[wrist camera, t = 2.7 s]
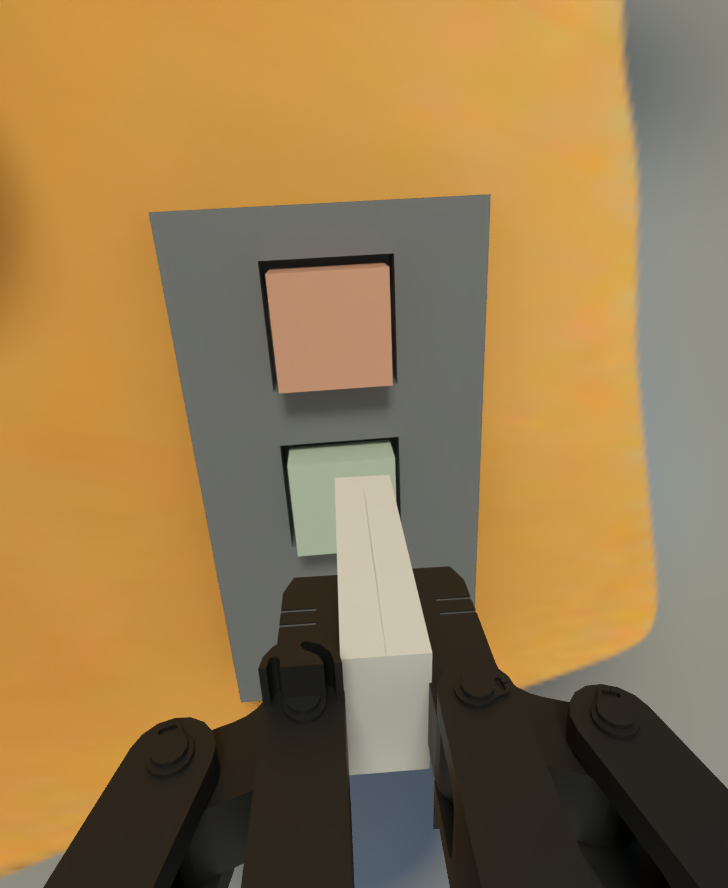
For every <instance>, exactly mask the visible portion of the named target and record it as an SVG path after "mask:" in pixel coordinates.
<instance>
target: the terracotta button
mask: <svg viewBox="0 0 728 888" xmlns="http://www.w3.org/2000/svg"><path fill="white" fill-rule="evenodd" d="M265 277H266V286H267V294H268V303H269V312H270V320H271V329H272V337H273V346H274V355H275V363H276V372H277V381H278V389H279V393H293V392H308V391H322V390H336V389H350V388H364V387H378V386H393V373H392V339H391V306H390V272H389V266H388V265H386V264H385V263H384V262H380V263H363V264H346V265H329V266H312V267H295V268H278V269H269V270H268V271H267V273H266V274H265Z"/></svg>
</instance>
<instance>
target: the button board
mask: <svg viewBox="0 0 728 888" xmlns="http://www.w3.org/2000/svg"><path fill="white" fill-rule="evenodd" d="M490 196H491V194H489V195H470V196H451V197H432V198H413V199H394V200H375V201H356V202H337V203H318V204H299V205H280V206H261V207H242V208H223V209H204V210H185V211H166V212H149V217H150V222H151V227H152V233H153V238H154V243H155V249H156V254H157V259H158V264H159V270H160V275H161V280H162V286H163V291H164V296H165V302H166V307H167V312H168V317H169V323H170V328H171V333H172V339H173V344H174V349H175V355H176V360H177V365H178V370H179V376H180V381H181V386H182V392H183V397H184V402H185V408H186V413H187V418H188V423H189V429H190V434H191V439H192V445H193V450H194V455H195V461H196V466H197V471H198V476H199V482H200V487H201V492H202V498H203V503H204V508H205V514H206V519H207V524H208V529H209V535H210V540H211V545H212V551H213V556H214V561H215V567H216V572H217V577H218V582H219V588H220V593H221V598H222V604H223V609H224V614H225V620H226V625H227V630H228V635H229V641H230V646H231V651H232V657H233V662H234V667H235V673H236V678H237V683H238V688H239V694H240V699H241V702H250V701H260V700H262V694H261V686H260V679H259V672H258V668H259V665H260V663H261V660H262V658H263V656H264V655H265V654H266V653H267V652H268V651H269V650H270V649H271V648H272V647H273V646H275V645H277V640H278V632H279V623H280V614H281V606H282V597H283V592H284V591H285V589H286V588H287V587H288V585H289V584H290V582H291V581H292V580H293V578H296V577H312V576H327V575H338V574H337V553H333V554H322V555H310V556H299V557H298V553H297V545H296V536H295V527H294V519H293V510H292V501H291V493H290V484H289V476H288V467H287V465H288V457H289V448H290V447H297V446H310V445H324V444H337V443H350V442H363V441H376V440H390V443H391V446H392V450H393V453H394V456H395V475H396V504H397V508H398V512H399V516H400V520H401V525H402V529H403V533H404V537H405V541H406V545H407V550H408V554H409V558H410V562H411V566H412V569H413V568H429V567H444V566H450V567H451V568H452V569H453V570H454V571H455V572H457V573H458V574H459V575H460V576H461V577H462V578H463V579H464V581H465V583H466V586H467V589H468V591H469V594H470V598H471V599H472V602H473V604H474V607H475V586H476V560H477V534H478V508H479V482H480V456H481V430H482V404H483V378H484V352H485V326H486V300H487V274H488V248H489V222H490ZM380 262H384V263H385V264H386V265H388V266H389V272H390V306H391V339H392V373H393V386H378V387H364V388H350V389H336V390H322V391H308V392H293V393H279V389H278V381H277V372H276V363H275V355H274V346H273V337H272V329H271V320H270V312H269V303H268V294H267V286H266V277H265V274H266V273H267V271H268V270H269V269H278V268H295V267H312V266H329V265H346V264H363V263H380Z"/></svg>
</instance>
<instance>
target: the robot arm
mask: <svg viewBox="0 0 728 888" xmlns="http://www.w3.org/2000/svg"><path fill="white" fill-rule="evenodd" d="M335 508H336V541H337V574H338V575H327V576H312V577H296V578H293V580H292V581H291V582H290V584H289V585H288V587H287V588H286V589H285V591H284V592H283V597H282V606H281V614H280V623H279V632H278V640H277V645H275V646H273V647H272V648H271V649H270V650H269V651H268V652H267V653H266V654H265V655H264V656H263V658H262V660H261V663H260V665H259V668H258V672H259V679H260V686H261V694H262V701H263V703H262V704H261V705H260V706H259V707H258V708H257V709H256V710H254V711H253V712H252V713H250V714H249V715H247V716H246V717H244V718H242V719H239V720H237V721H235V722H233V723H230V724H227V725H225V726H222V727H219V728H216V729H214V730H211V729H210V728H209V727H208V726H207V725H206V724H205V722H202V721H200V720H197V719H194V718H191V717H189V718H174V719H171V720H168V721H165V722H162V723H159V724H157V725H156V726H154V727H153V728H151V729H150V730H148V731H147V732H145V733H144V734H142V736H141V737H140V738H139V739H138V740H137V741H136V743H135V744H134V745H133V746H132V747H131V748H130V750H129V752H128V753H127V755H126V756H125V758H124V760H123V761H122V763H121V764H120V766H119V768H118V769H117V771H116V772H115V774H114V776H113V777H112V779H111V780H110V782H109V784H108V785H107V787H106V788H105V790H104V791H103V793H102V795H101V796H100V798H99V799H98V801H97V803H96V804H95V806H94V807H93V809H92V811H91V812H90V814H89V815H88V817H87V819H86V820H85V822H84V823H83V825H82V827H81V828H80V830H79V831H78V833H77V835H76V836H75V838H74V839H73V841H72V843H71V844H70V846H69V847H68V849H67V851H66V852H65V854H64V855H63V857H62V859H61V861H60V862H59V863H58V865H57V867H56V868H55V870H54V871H53V873H52V875H51V876H50V878H49V879H48V881H47V883H46V884H45V886H44V887H43V888H228V886H229V883H230V880H231V877H232V874H233V872H234V868H235V867H237V866H239V865H241V864H243V863H244V868H243V876H242V884H241V888H354V867H353V843H352V822H351V821H352V820H351V801H350V783H349V775H358V774H370V773H382V772H395V771H407V770H419V769H429V768H430V756H431V762H432V766H433V772H434V777H435V788H434V823H433V827H434V829H440V835H441V840H442V846H443V851H444V856H445V862H446V868H447V873H448V879H449V884H450V888H728V789H727V788H726V787H725V786H724V784H723V783H722V782H720V780H719V779H718V778H717V777H716V776H715V775H714V774H713V773H712V772H711V771H710V770H709V769H708V768H707V767H706V766H705V765H704V764H703V763H702V762H701V760H700V759H699V758H698V757H697V756H696V755H695V754H694V753H693V752H692V751H691V750H690V749H689V748H688V747H687V746H686V745H685V744H684V743H683V742H682V741H681V740H680V739H679V737H677V736H676V734H674V732H673V731H672V730H671V729H670V728H669V727H668V726H667V725H666V724H665V723H664V722H663V721H662V720H661V719H660V718H659V717H658V716H657V715H656V713H655V712H654V711H653V710H652V709H651V708H650V707H649V706H647V705H646V704H645V703H644V702H643V701H641V700H640V699H639V698H637V697H636V696H635V695H633V694H631V693H629V692H627V691H624V690H622V689H620V688H618V687H613V686H608V685H603V684H598V685H590V686H585V687H583V688H582V689H580V690H578V691H576V692H575V693H574V695H573V697H572V699H571V700H570V702H565V701H560V700H555V699H550V698H545V697H541V696H537V695H534V694H530V693H528V692H526V691H524V690H522V689H520V688H518V687H516V686H515V685H514V684H513V683H512V681H511V679H510V678H509V676H507V675H506V674H505V673H503V672H502V671H501V670H499V669H498V667H497V665H496V663H495V660H494V658H493V655H492V652H491V650H490V647H489V644H488V642H487V639H486V636H485V634H484V631H483V628H482V626H481V623H480V620H479V618H478V615H477V613H476V611H475V607H474V604H473V602H472V599H471V598H470V594H469V591H468V589H467V586H466V583H465V581H464V579H463V578H462V577H461V576H460V575H459V574H458V573H457V572H455V571H454V570H453V569H452V568H451V567H450V566H444V567H429V568H413V569H412V566H411V562H410V558H409V554H408V550H407V545H406V541H405V537H404V533H403V529H402V525H401V520H400V516H399V512H398V508H397V504H396V500H395V496H394V491H393V487H392V483H391V479H390V475H375V476H357V477H339V478H335Z"/></svg>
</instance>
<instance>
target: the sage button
mask: <svg viewBox="0 0 728 888" xmlns="http://www.w3.org/2000/svg"><path fill="white" fill-rule="evenodd" d="M287 467H288V476H289V484H290V493H291V501H292V510H293V519H294V527H295V536H296V545H297V553H298V557H299V556H310V555H322V554H333V553H337V541H336V508H335V478H339V477H357V476H375V475H390V479H391V483H392V487H393V491H394V496H395V500H396V475H395V456H394V453H393V450H392V446H391V443H390V440H376V441H363V442H350V443H337V444H324V445H310V446H297V447H290V448H289V457H288V465H287Z"/></svg>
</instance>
